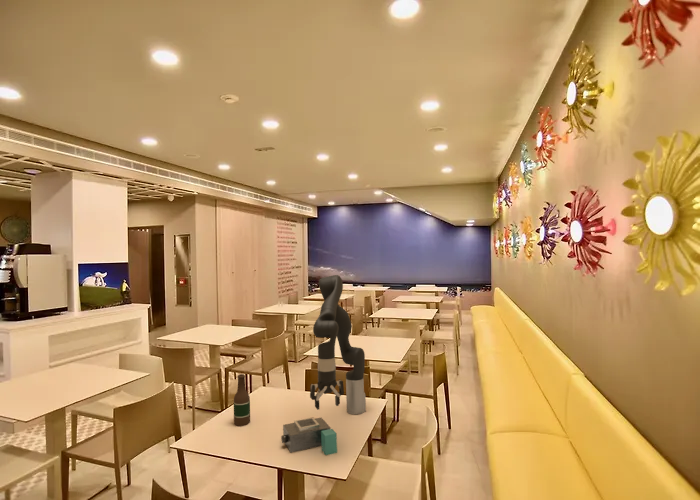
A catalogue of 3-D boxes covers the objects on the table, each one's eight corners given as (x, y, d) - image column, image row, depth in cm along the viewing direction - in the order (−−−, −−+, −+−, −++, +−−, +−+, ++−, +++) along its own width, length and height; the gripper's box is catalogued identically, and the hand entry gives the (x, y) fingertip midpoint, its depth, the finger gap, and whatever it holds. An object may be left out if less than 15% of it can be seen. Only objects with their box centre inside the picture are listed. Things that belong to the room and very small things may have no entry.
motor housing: (321, 432, 182) (321, 414, 182) (330, 443, 171) (330, 424, 171) (279, 441, 174) (278, 422, 174) (285, 453, 163) (285, 433, 163)
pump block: (332, 447, 168) (332, 428, 168) (337, 452, 163) (336, 433, 163) (321, 450, 166) (321, 431, 166) (325, 455, 161) (325, 435, 161)
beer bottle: (241, 428, 188) (240, 378, 189) (230, 425, 193) (229, 375, 193) (253, 422, 195) (252, 373, 196) (242, 419, 199) (241, 371, 200)
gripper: (339, 364, 171) (339, 401, 171) (307, 368, 166) (308, 407, 165) (345, 368, 164) (346, 407, 164) (313, 372, 159) (313, 413, 158)
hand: (327, 407), depth 165 cm, fingers open, 8 cm apart
